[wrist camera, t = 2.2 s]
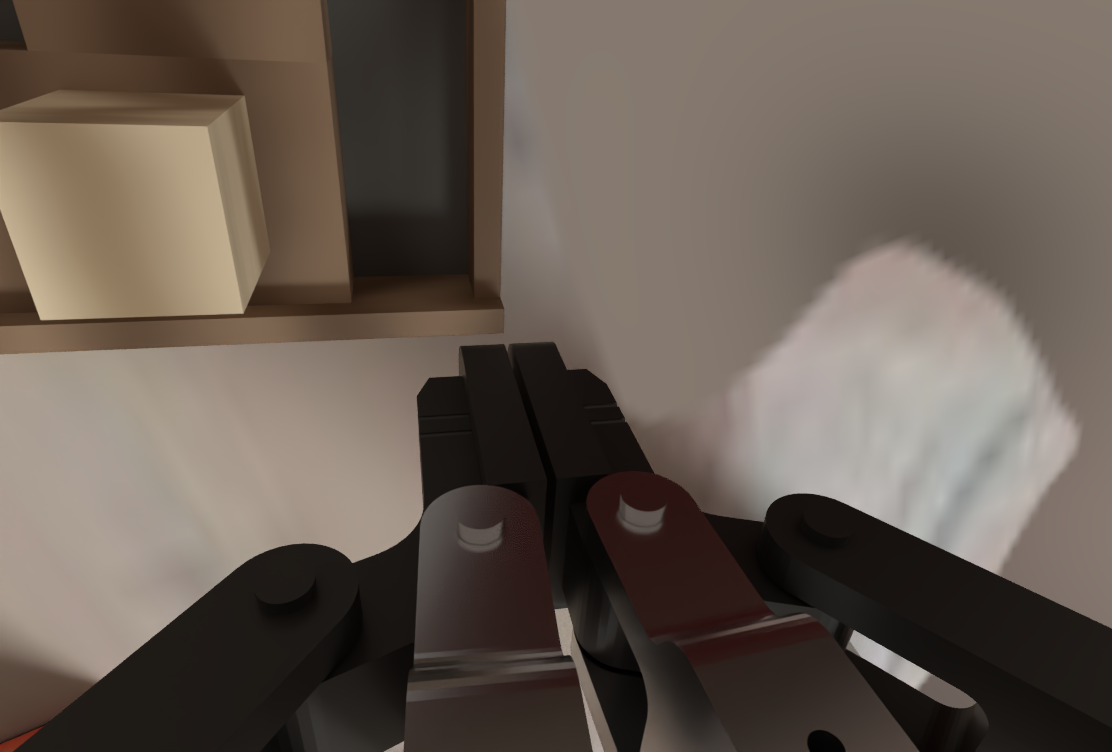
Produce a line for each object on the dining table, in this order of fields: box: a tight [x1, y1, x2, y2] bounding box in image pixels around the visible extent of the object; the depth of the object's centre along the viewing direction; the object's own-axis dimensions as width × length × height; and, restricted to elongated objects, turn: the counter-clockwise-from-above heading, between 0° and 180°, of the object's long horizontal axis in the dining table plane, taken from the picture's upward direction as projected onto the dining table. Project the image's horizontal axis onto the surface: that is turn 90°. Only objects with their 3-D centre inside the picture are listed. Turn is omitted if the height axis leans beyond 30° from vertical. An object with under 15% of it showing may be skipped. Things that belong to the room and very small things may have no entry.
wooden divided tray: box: [0, 0, 506, 354], centre depth 19 cm, size 25×18×6 cm
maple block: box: [0, 90, 270, 320], centre depth 19 cm, size 5×5×5 cm
